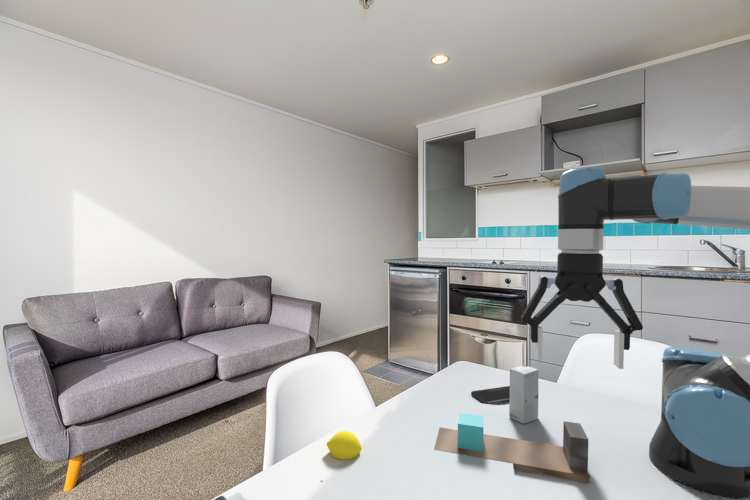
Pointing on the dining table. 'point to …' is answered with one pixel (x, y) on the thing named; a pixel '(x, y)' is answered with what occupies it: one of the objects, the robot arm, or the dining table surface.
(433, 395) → the dining table surface
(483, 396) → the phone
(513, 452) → the walnut strip
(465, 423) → the teal block
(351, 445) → the lemon
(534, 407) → the skincare box
